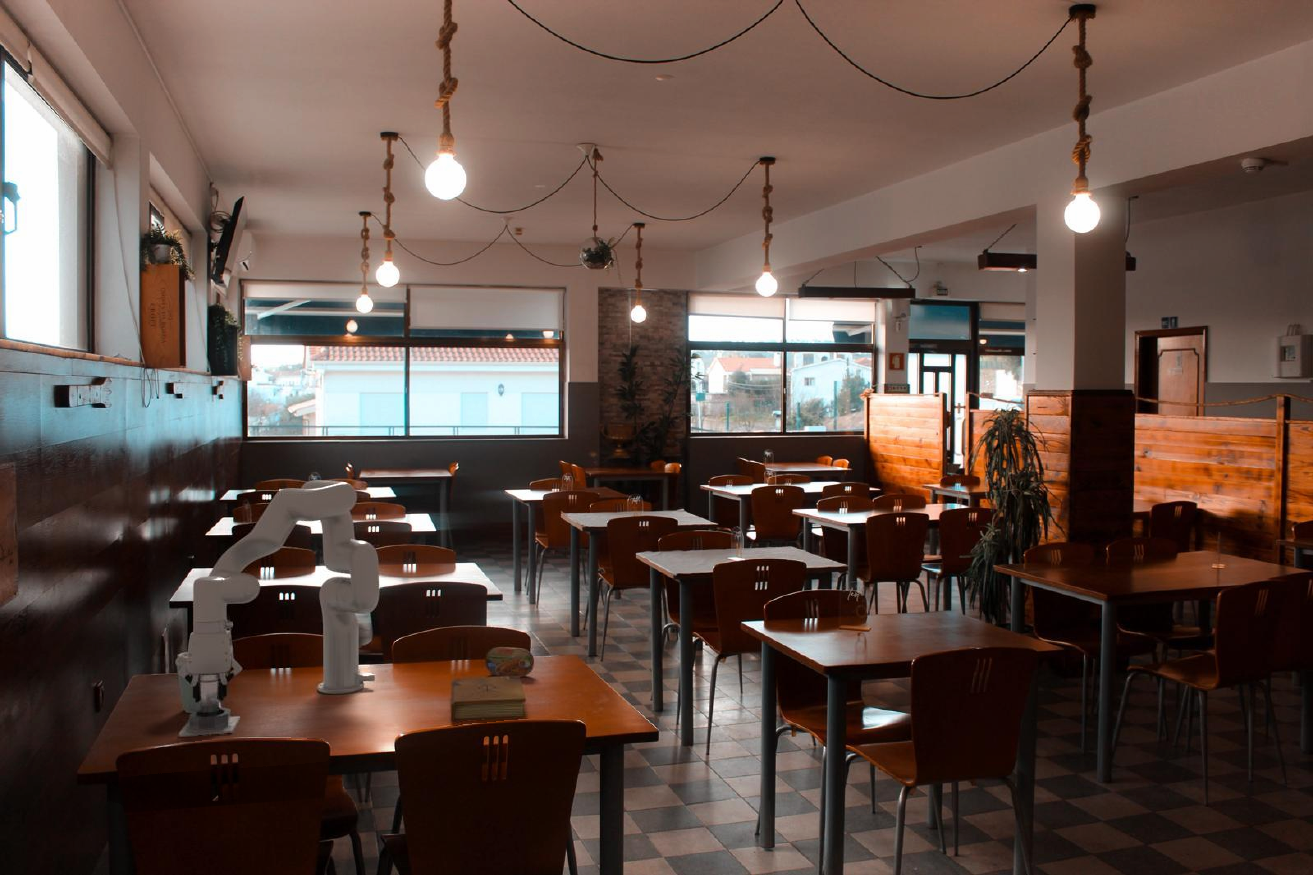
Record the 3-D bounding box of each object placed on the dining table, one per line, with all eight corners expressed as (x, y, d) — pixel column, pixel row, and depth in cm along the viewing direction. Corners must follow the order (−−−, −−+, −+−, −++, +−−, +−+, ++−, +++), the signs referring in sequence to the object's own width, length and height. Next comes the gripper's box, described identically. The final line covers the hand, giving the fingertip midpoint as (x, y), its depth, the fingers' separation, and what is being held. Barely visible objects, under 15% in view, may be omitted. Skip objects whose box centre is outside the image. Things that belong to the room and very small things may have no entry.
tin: (484, 674, 310) (484, 646, 310) (489, 672, 313) (489, 644, 313) (531, 678, 306) (531, 650, 305) (535, 676, 309) (535, 648, 308)
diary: (451, 699, 285) (451, 678, 285) (519, 696, 289) (519, 675, 289) (451, 723, 263) (451, 701, 263) (525, 719, 267) (525, 697, 266)
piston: (222, 706, 259) (222, 670, 259) (219, 711, 255) (219, 675, 254) (201, 707, 258) (201, 671, 258) (197, 712, 253) (197, 676, 253)
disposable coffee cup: (207, 702, 279) (207, 646, 279) (228, 709, 272) (227, 652, 272) (168, 710, 271) (167, 653, 271) (188, 718, 264) (187, 660, 264)
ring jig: (240, 719, 264) (240, 704, 264) (232, 733, 252) (232, 718, 252) (189, 722, 261) (189, 707, 261) (178, 737, 249) (178, 721, 249)
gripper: (249, 622, 262) (249, 694, 262) (176, 625, 258) (176, 698, 258) (244, 628, 254) (244, 702, 255) (169, 631, 250) (169, 706, 251)
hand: (210, 699), depth 256 cm, fingers closed on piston, 5 cm apart
